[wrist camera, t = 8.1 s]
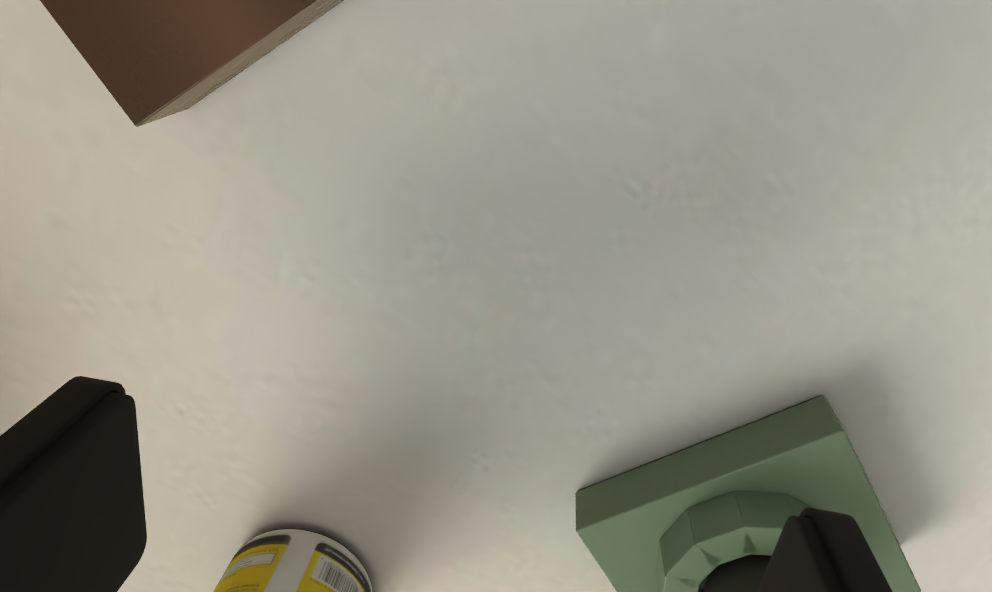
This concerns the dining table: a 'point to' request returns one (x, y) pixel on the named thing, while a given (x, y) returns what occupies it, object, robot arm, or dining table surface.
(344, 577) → the pill bottle
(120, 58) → the brown dial block
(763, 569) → the button
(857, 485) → the switch block
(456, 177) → the dining table surface
